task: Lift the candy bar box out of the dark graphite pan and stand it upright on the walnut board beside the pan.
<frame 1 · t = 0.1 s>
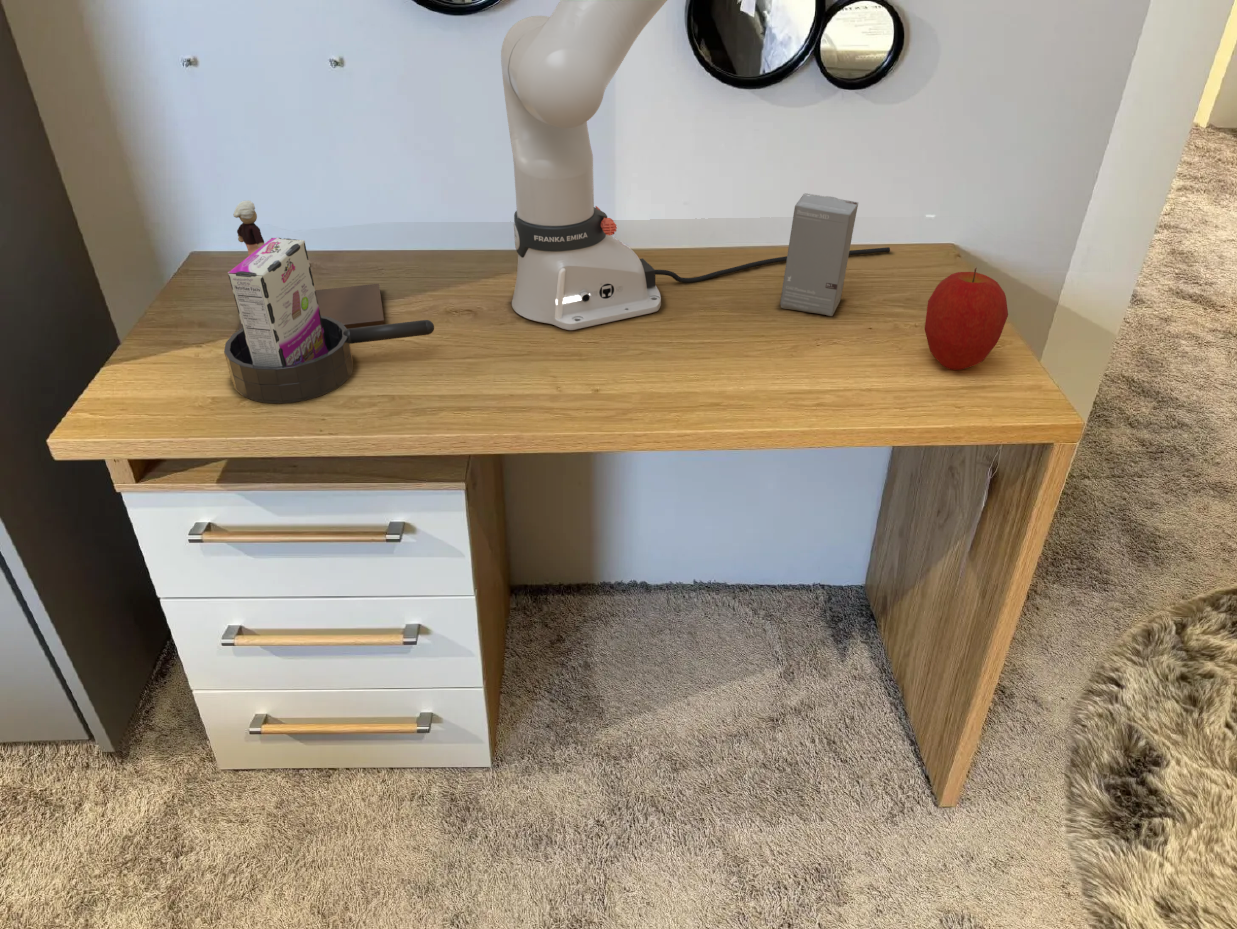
cosmetic box: (812, 305, 145), on the table
cutting board: (313, 317, 141), on the table
grandmother figurine: (262, 279, 153), on the table
pan: (294, 373, 127), on the table
apple: (954, 364, 130), on the table
candy bar box: (294, 372, 127), resting on pan
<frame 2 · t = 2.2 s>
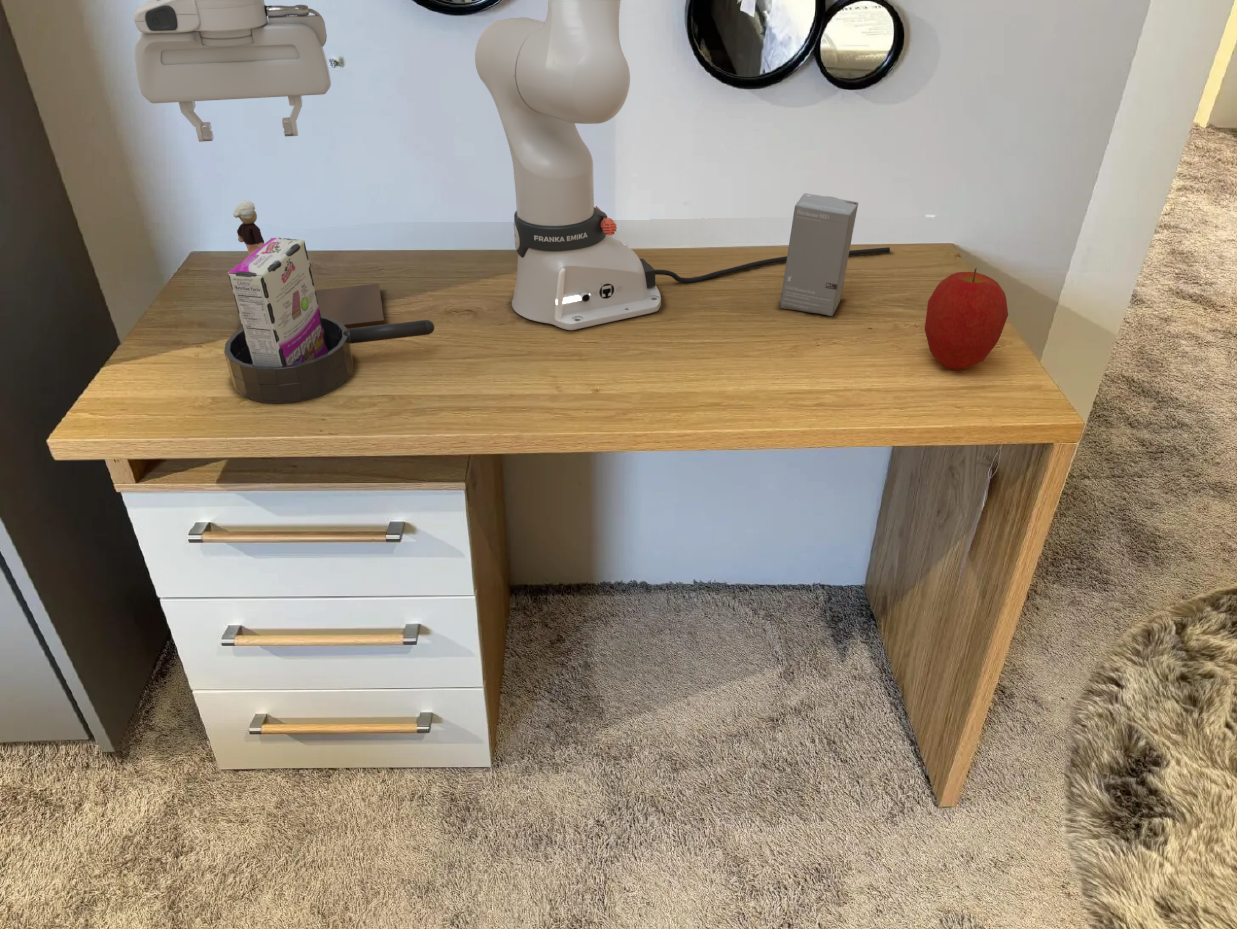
hand: (249, 137, 111), 31 cm above the table, tool pointing down, fingers open, 8 cm apart
nothing on the table moved.
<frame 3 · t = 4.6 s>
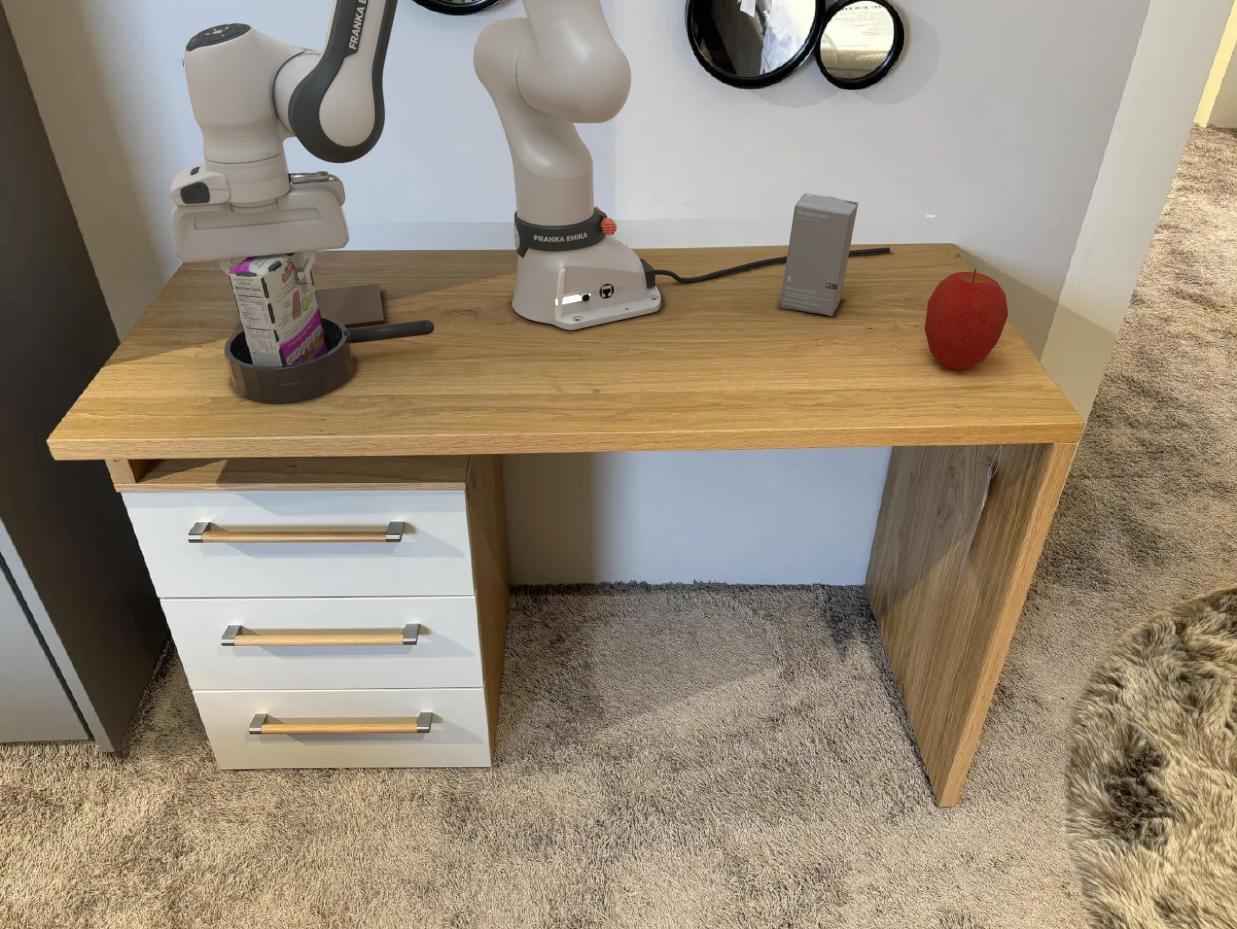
hand: (274, 286, 120), 13 cm above the table, tool pointing down, fingers closed on candy bar box, 6 cm apart
candy bar box: (294, 372, 127), resting on pan, touching gripper
everything else where it was.
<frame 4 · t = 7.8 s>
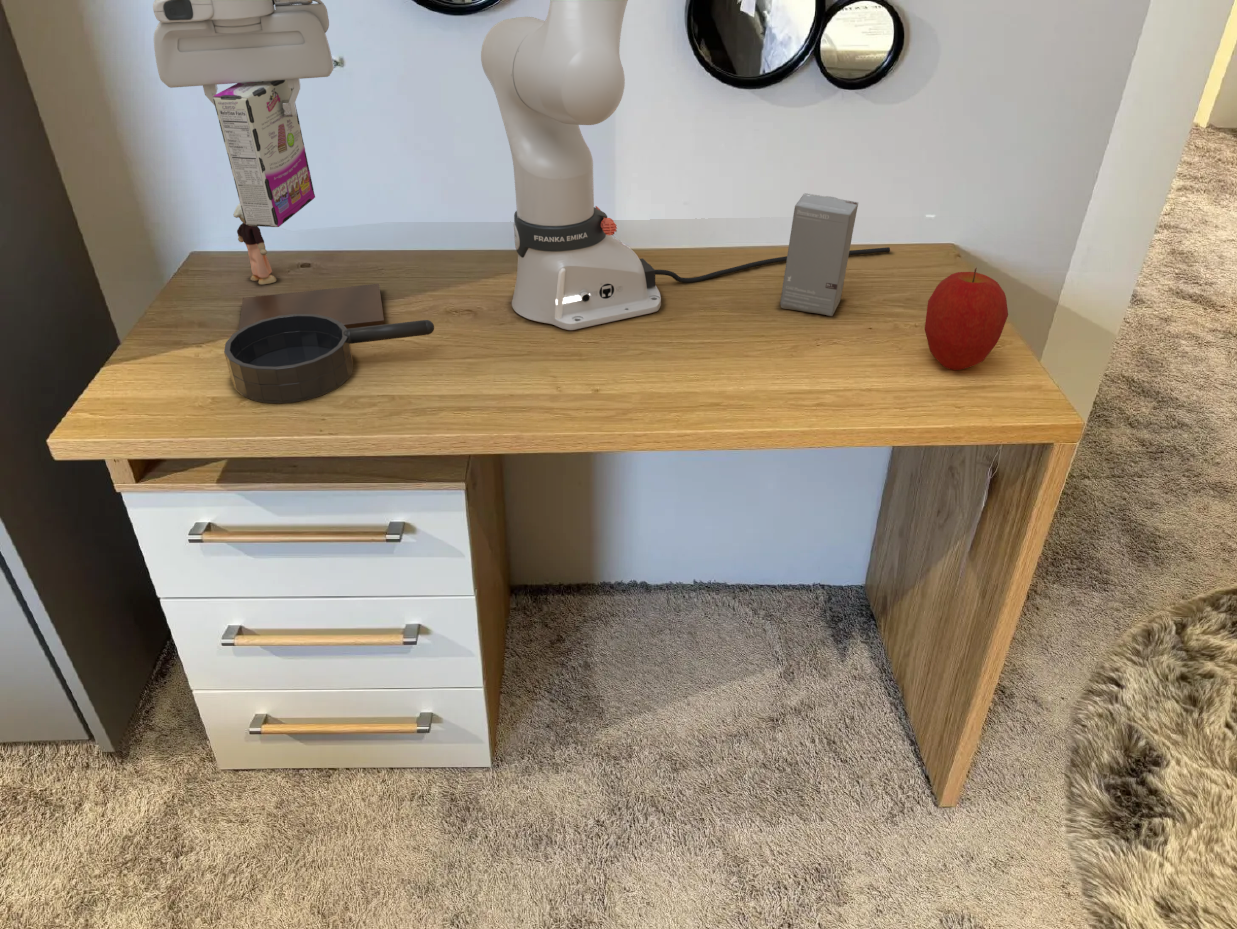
hand: (259, 118, 120), 30 cm above the table, tool pointing down, fingers closed on candy bar box, 6 cm apart
candy bar box: (280, 213, 127), point 17 cm above the table, touching gripper
everything else where it was.
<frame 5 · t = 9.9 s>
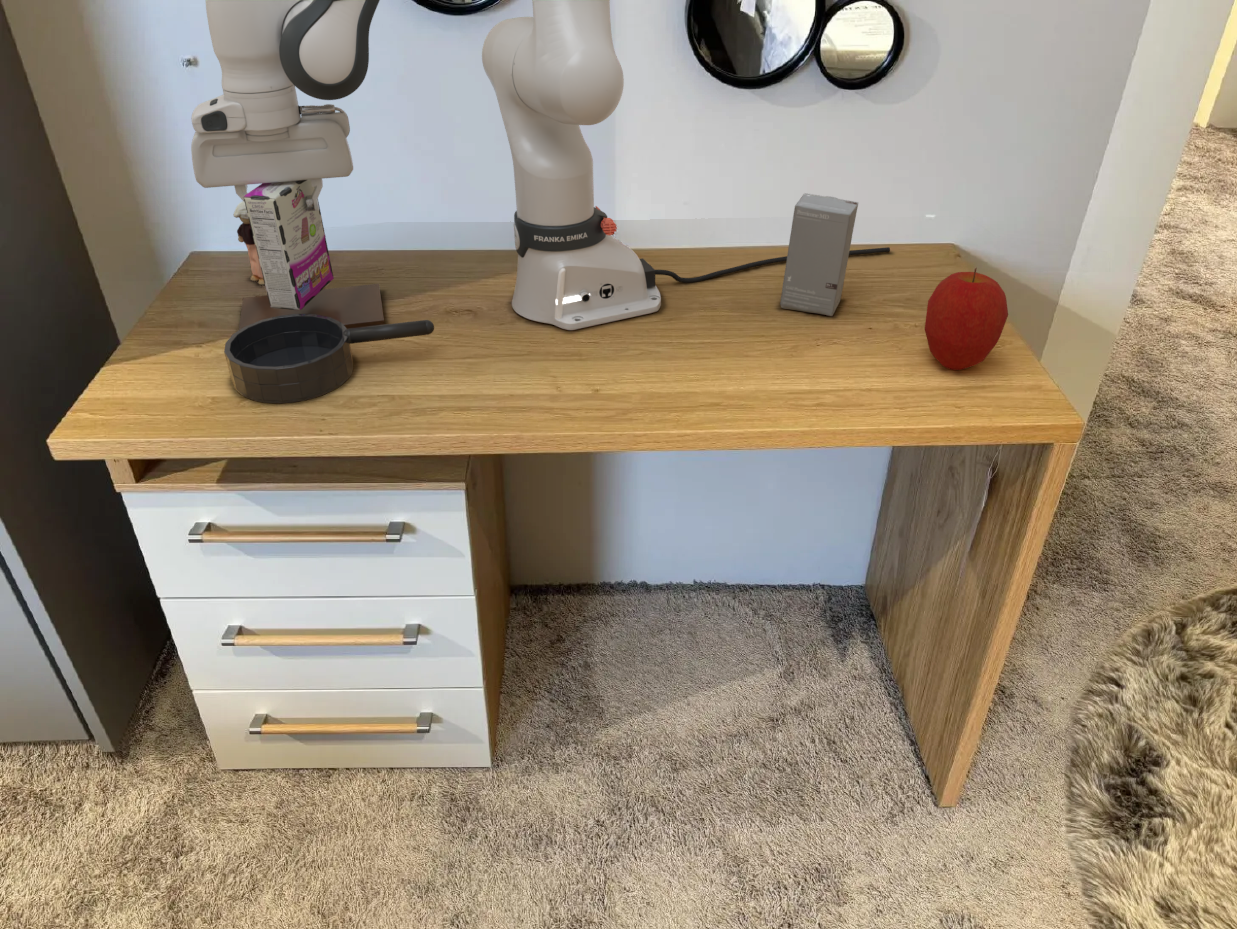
hand: (284, 212, 132), 16 cm above the table, tool pointing down, fingers closed on candy bar box, 6 cm apart
candy bar box: (302, 295, 139), point 4 cm above the table, touching gripper
everything else where it was.
when the fingers open (14 cm above the table, at t = 11.2 s): candy bar box stays where it is, resting on cutting board.
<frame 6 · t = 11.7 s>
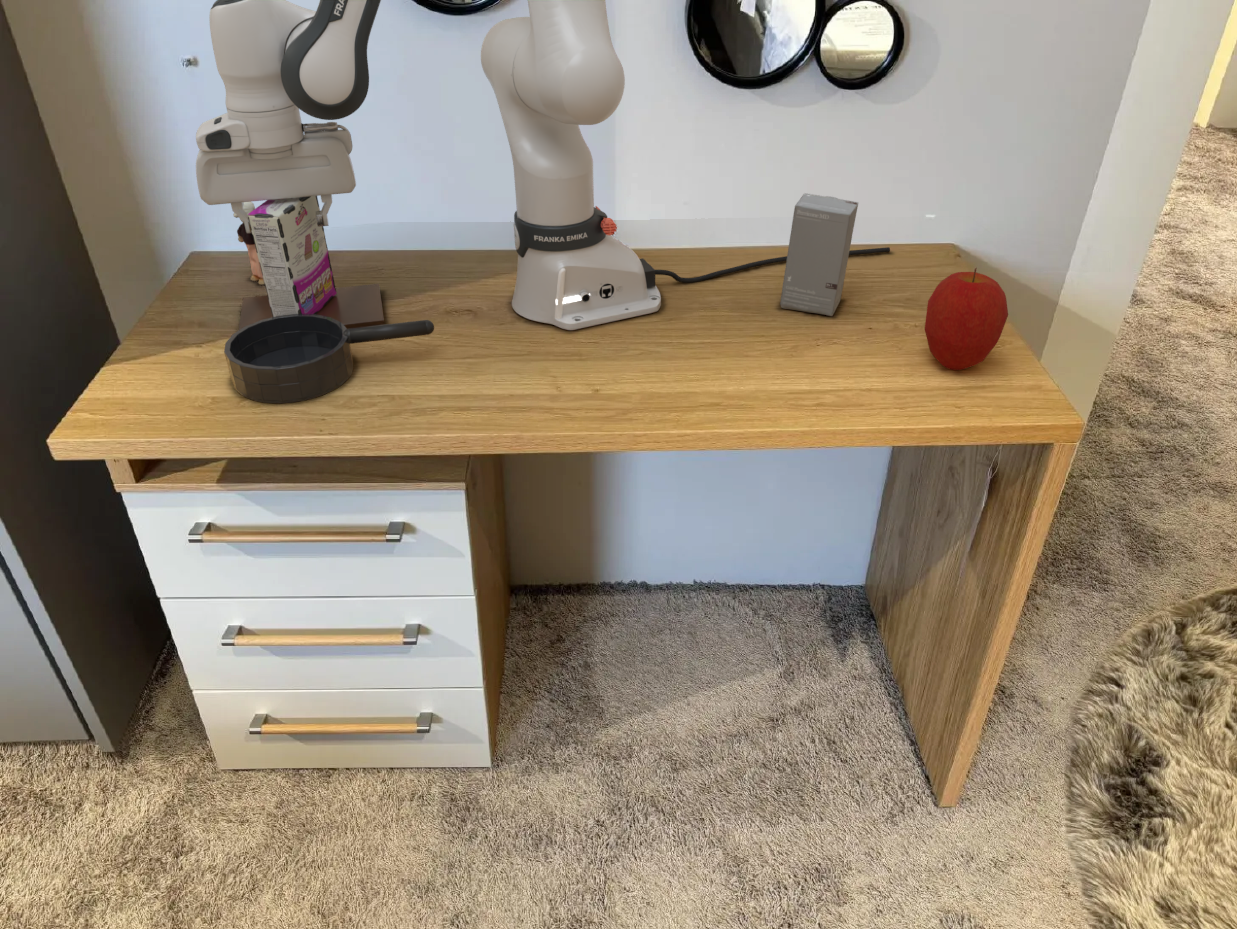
hand: (288, 228, 133), 14 cm above the table, tool pointing down, fingers open, 8 cm apart
candy bar box: (305, 310, 140), point 1 cm above the table, touching cutting board
everything else where it was.
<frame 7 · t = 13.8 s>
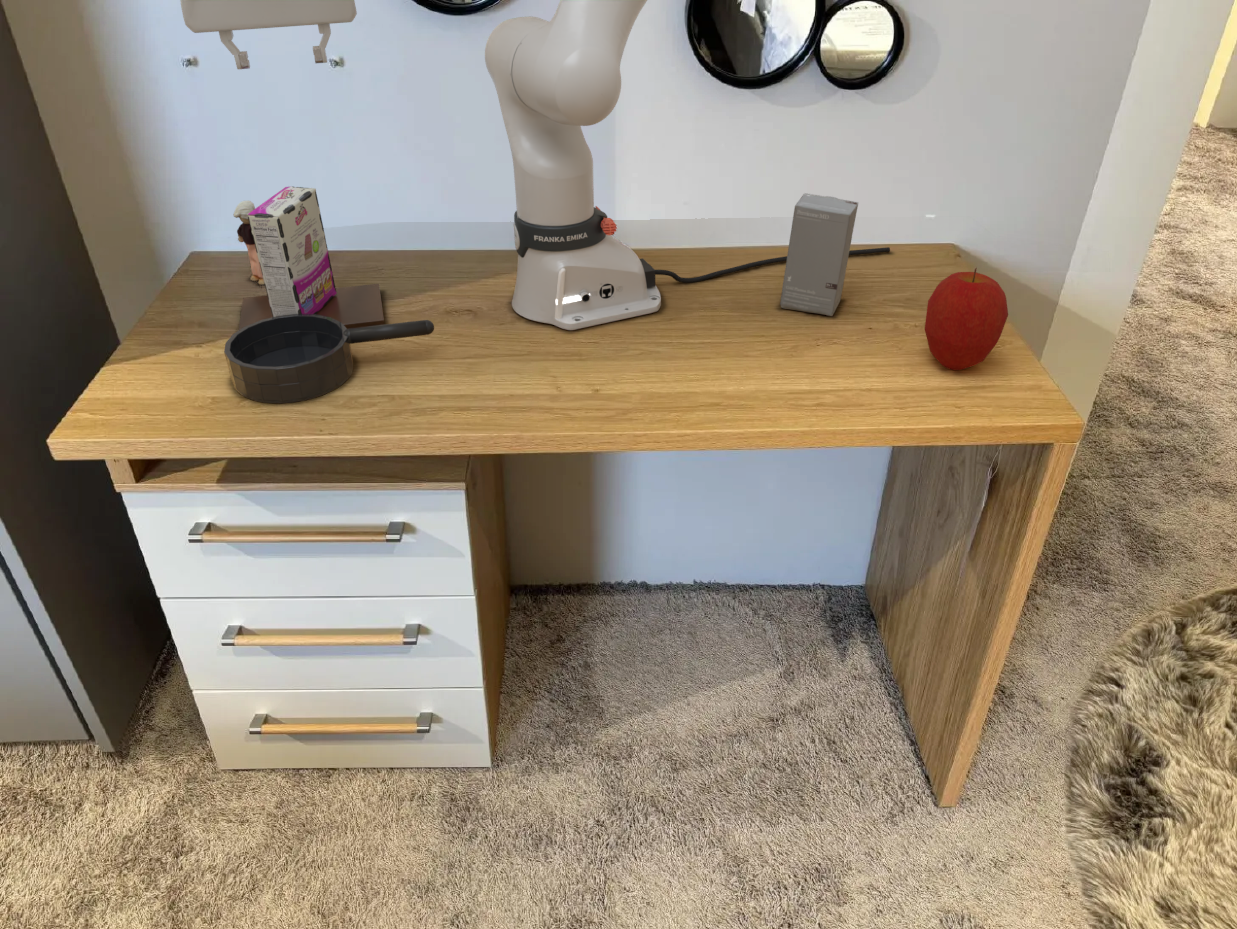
hand: (283, 65, 121), 35 cm above the table, tool pointing down, fingers open, 8 cm apart
nothing on the table moved.
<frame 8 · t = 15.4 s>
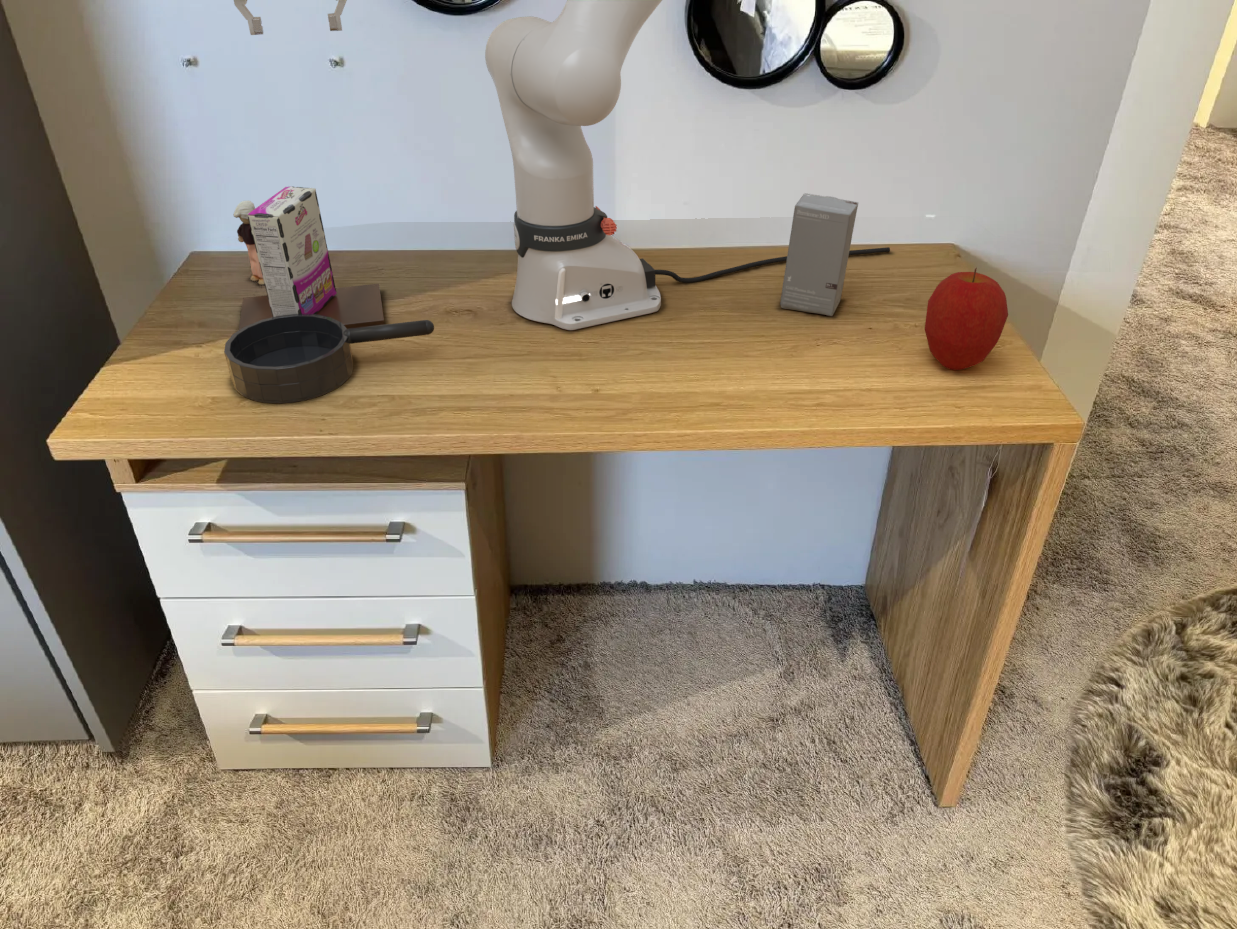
hand: (297, 31, 119), 39 cm above the table, tool pointing down, fingers open, 8 cm apart
nothing on the table moved.
at the end: candy bar box inside the target area on the cutting board (0.9 cm from its centre), point 1.3 cm above the cutting board's base; candy bar box tilted 0°; candy bar box touching cutting board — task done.
